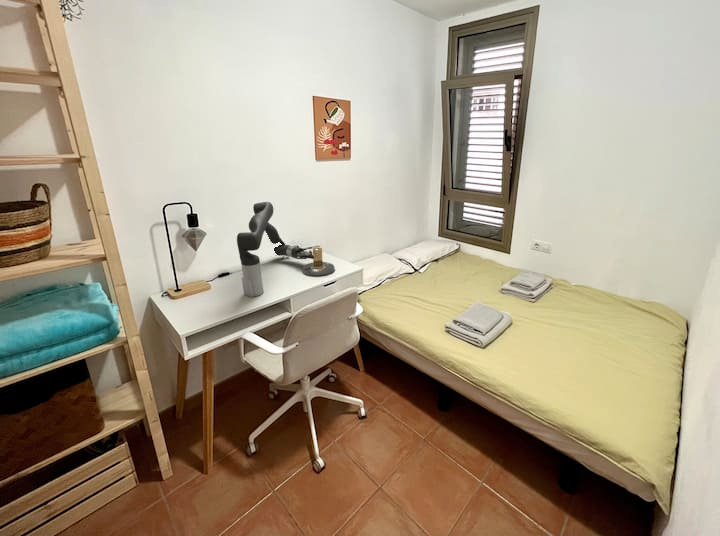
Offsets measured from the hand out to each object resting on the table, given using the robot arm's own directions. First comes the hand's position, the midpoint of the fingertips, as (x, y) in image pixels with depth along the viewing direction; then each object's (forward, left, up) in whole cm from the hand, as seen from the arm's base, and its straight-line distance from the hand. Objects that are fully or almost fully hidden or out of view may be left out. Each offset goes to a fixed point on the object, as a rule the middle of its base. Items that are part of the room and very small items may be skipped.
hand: (314, 257), depth 207 cm
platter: (0, -3, -8) cm, 8 cm away
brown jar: (0, -3, -6) cm, 7 cm away
